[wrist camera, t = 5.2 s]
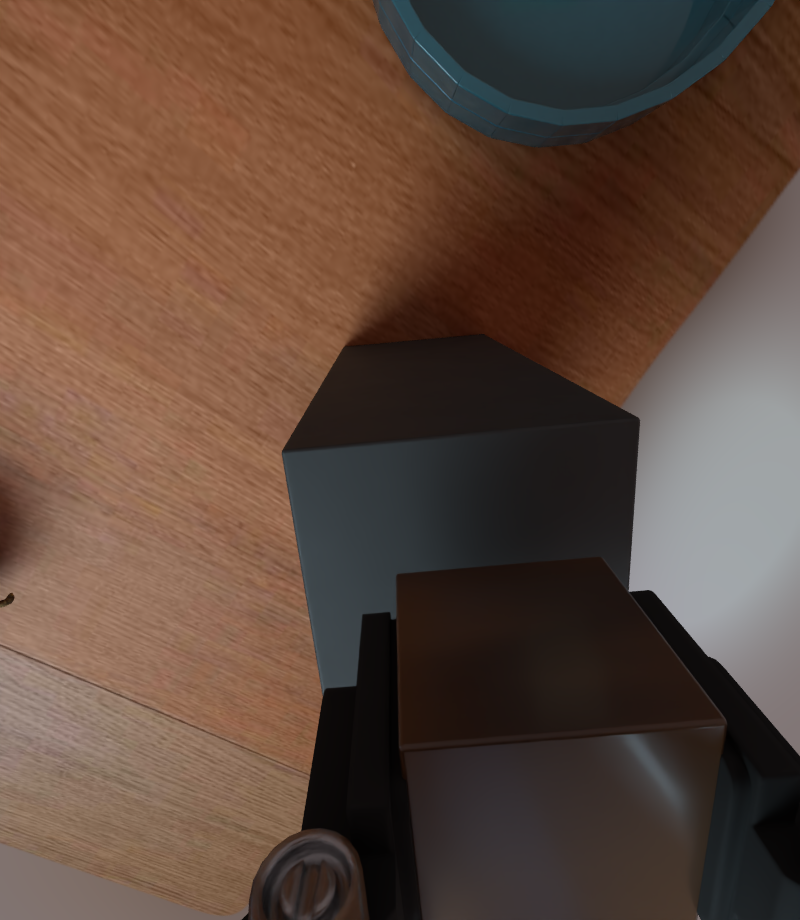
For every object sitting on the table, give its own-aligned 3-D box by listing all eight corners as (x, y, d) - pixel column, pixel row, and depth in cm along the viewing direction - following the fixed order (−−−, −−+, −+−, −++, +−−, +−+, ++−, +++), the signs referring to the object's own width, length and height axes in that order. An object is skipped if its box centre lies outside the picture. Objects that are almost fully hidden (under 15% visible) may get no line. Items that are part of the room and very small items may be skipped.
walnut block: (602, 554, 10) (731, 722, 6) (594, 716, 11) (696, 935, 8) (395, 572, 10) (398, 748, 6) (411, 731, 11) (421, 956, 8)
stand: (484, 333, 29) (641, 417, 11) (488, 466, 32) (621, 703, 14) (343, 346, 29) (280, 450, 11) (359, 478, 32) (327, 730, 14)
